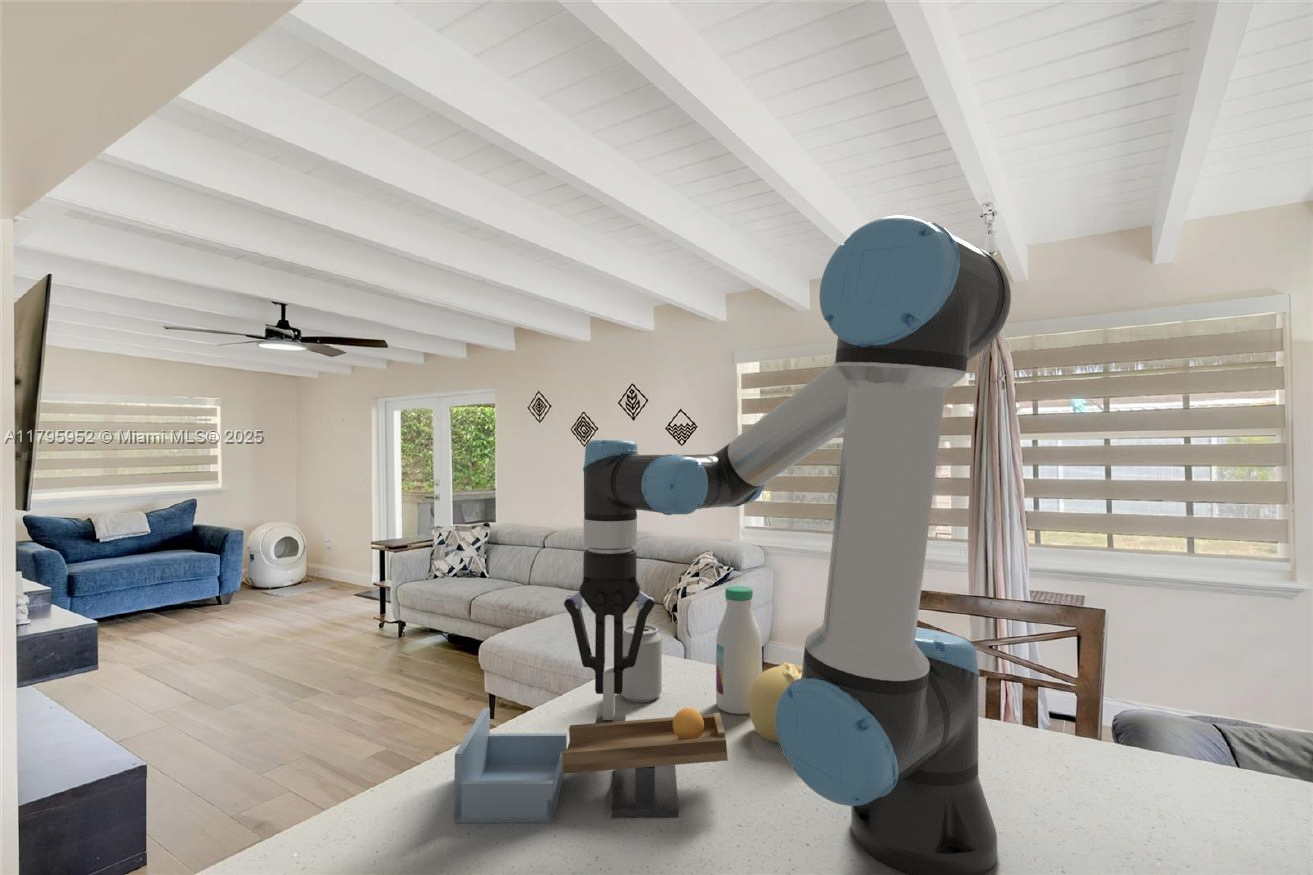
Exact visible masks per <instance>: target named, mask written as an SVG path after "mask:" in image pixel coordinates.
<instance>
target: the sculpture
mask: <svg viewBox="0 0 1313 875" xmlns="http://www.w3.org/2000/svg"><path fill="white" fill-rule="evenodd" d="M802 667H803V665H796V664H794V663H789V662H785V661H782V662H781V664H780V665H778V666H774V667H771V668H768V669H765V670H764V671H762V673H761V674H760V675H759V676H758V677H757V679H756V680H755V681H754V683H753V685H752V688H751V691H750V695H749V712H750V714H749V717H750V720H751V723H752V725H753V727H754V729H755V730H756V732H757V733H758V734H759V736H761V737H762V738H764V739H766V740H768V741H771V742H776V743H779V739H778V736H777V731H776V723H775V714H776V707H777V703H778V701H779V698H780V696H781V695H782V693H783V692H784V691H785V690H786V689H787V687H788V686H789V685H790V684H792V683H793V682H794V681H796V680H798V679H801V676H802Z"/></svg>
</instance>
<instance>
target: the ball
mask: <svg viewBox="0 0 1313 875" xmlns="http://www.w3.org/2000/svg"><path fill="white" fill-rule="evenodd" d="M701 715H702V714H701V713H700V712H699V711H698V710H696V709H695V708H692V707H685V708H682V709H680V710H678V711H677V712H676V714H675V715H674V716H673V717H674V719H673V730H674V733H675V734H676V736H677V737H678V738H679V739H680V740H685V739H697V738H699V737H700V736H701V734H702V733H703V730H704V721H703V718H702V716H701Z"/></svg>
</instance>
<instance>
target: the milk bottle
mask: <svg viewBox="0 0 1313 875" xmlns="http://www.w3.org/2000/svg"><path fill="white" fill-rule="evenodd" d="M753 592H754V591H753V589H752V588H751V587H749V586H744V585H732V586H727V587H726V588H725V592H724V593H725V594H724V596H725V602H726V608H725V611H724V614H723V616H722V619H721V622H720V623H719V627H718V629H717V633H716V654H715V656H716V657H715V659H716V661H715V668H716V669H715V670H716V671H715V676H716V678H715V682H716V683H715V690H716V691H715V694H716V695H715V697H716V698H715V702H716V706H717V707H718V709H720V710H721V711H723V712H726V713H728V714H734V715H750V712H749V695H750V691H751V688H752V685H753V683H754V681H755V680H756V679H757V677H758V676H759V675H760V674H761V673H763V647H762V646H763V645H762V644H763V642H762V635H761V631H760V627H759V625H758V622H757V619H756V618H755V616H754V612H753V608H752V602H753V598H754V597H753V596H754V595H753V594H754V593H753Z"/></svg>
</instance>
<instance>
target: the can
mask: <svg viewBox="0 0 1313 875" xmlns="http://www.w3.org/2000/svg"><path fill="white" fill-rule="evenodd" d="M634 628H635V624H631V625H627V626H624V627H623V657H625V656H628V652H629V648H630V644H631V640H632V636H633V632H634ZM658 631H659V629H658V627H657V626H654V625H652V624H646V623H645V627H644V631H643V635H642V639H641V643H640V647H639V651H638V655H637V659H636V663H635V666H634V667H629V668H626V669H624V671H623V689H622V692H621V694H620V695H621V696H622V697H623V698H624V699H625V700H626V701H628V702H632V703H649V702H652V701H654V700H656V699H657V697H659V696H660V695H661V693H662V691H663V690H662V689H663V688H662V687H663V686H662V683H663V682H662V680H663V679H662V676H663V674H662V670H663V669H662V666H663V665H662V663H663V662H662V661H663V660H662V658H663V657H662V656H663V654H662V648H663V647H662V644H663V643H662V642H663V640H662V638H663V637H662V636H661V634H660V633H659V632H658Z"/></svg>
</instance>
